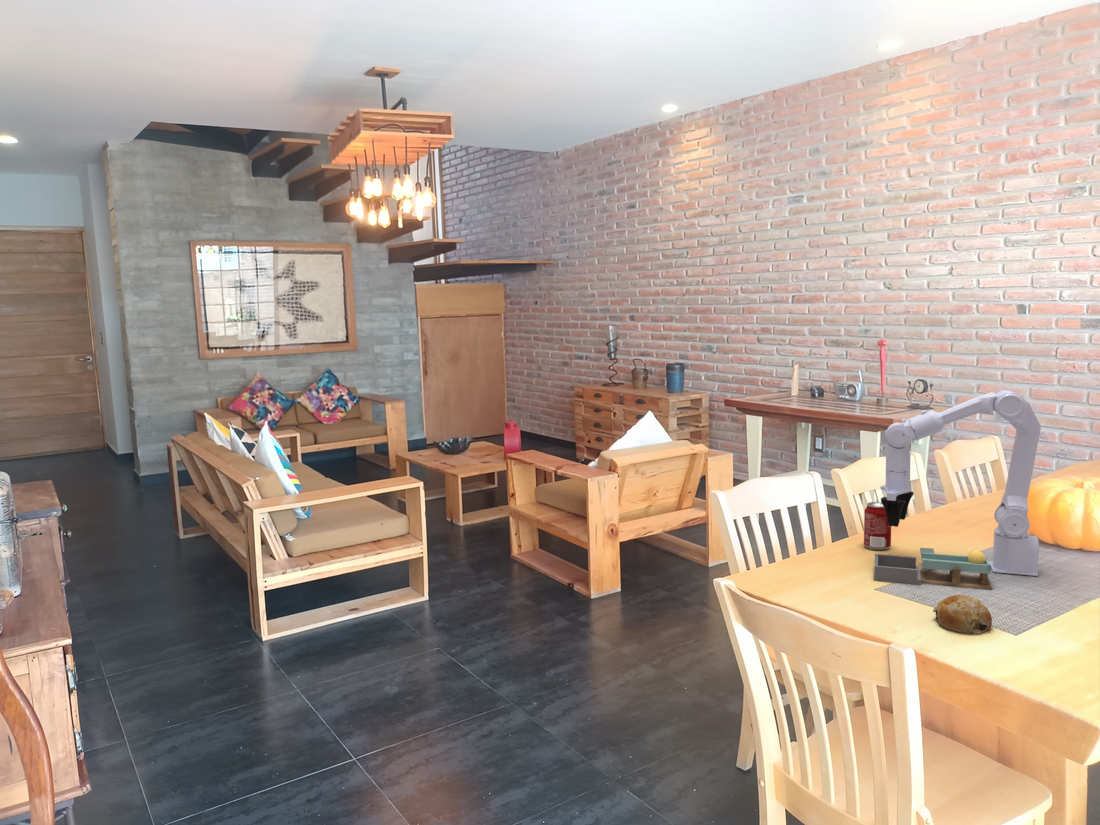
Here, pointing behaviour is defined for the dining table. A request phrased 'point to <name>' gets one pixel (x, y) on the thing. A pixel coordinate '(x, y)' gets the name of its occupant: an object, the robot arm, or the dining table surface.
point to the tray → (896, 569)
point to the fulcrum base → (956, 579)
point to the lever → (952, 562)
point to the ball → (976, 557)
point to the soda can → (876, 527)
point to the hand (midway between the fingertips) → (896, 522)
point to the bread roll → (963, 614)
